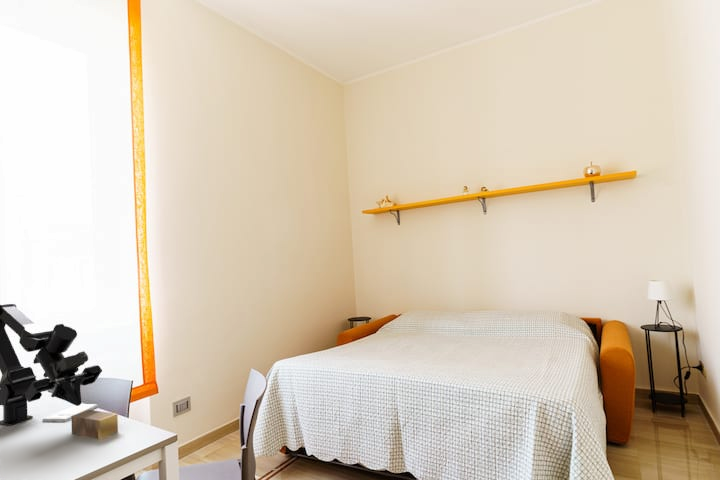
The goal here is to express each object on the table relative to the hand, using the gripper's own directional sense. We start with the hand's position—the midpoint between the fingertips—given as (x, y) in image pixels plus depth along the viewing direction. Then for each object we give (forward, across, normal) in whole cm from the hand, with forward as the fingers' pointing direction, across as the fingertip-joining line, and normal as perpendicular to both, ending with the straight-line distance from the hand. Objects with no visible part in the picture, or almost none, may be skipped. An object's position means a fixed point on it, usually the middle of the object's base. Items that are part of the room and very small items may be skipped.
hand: (79, 404), depth 119 cm
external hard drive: (-6, +8, +18) cm, 21 cm away
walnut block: (+4, 0, +3) cm, 5 cm away
